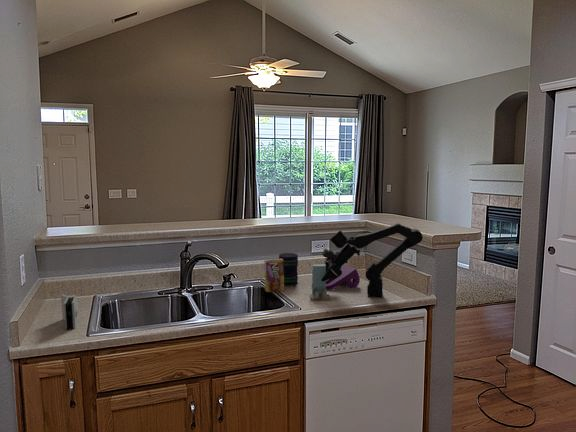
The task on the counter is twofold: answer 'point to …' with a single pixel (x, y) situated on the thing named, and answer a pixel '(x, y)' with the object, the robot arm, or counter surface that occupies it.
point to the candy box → (274, 275)
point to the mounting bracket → (344, 278)
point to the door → (318, 277)
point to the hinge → (70, 311)
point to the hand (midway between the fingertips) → (320, 278)
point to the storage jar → (290, 268)
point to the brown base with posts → (320, 295)
